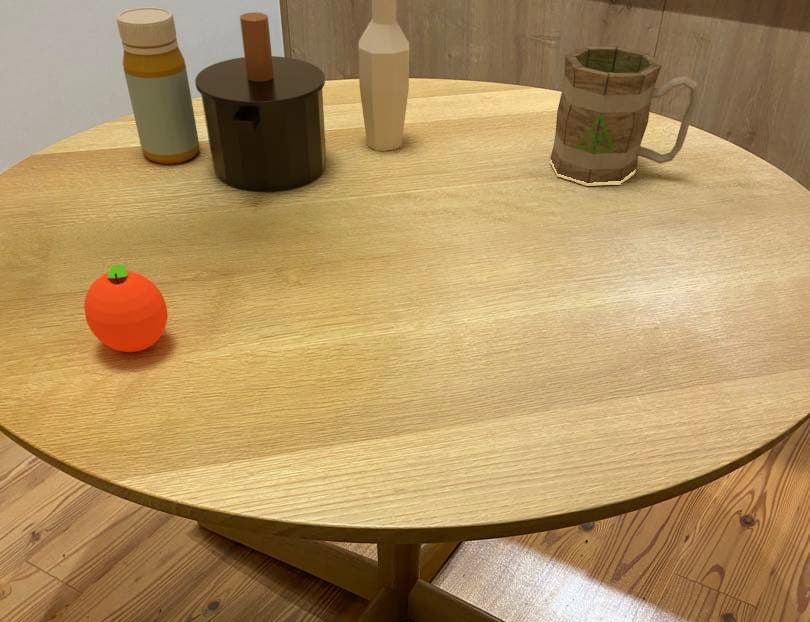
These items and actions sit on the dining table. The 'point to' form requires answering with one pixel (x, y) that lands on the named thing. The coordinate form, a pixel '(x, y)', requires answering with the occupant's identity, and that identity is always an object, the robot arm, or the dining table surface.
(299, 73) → the lid
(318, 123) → the pot
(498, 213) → the dining table surface
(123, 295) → the clementine
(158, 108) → the bottle
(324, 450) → the dining table surface
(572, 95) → the mug
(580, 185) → the dining table surface
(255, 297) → the dining table surface
